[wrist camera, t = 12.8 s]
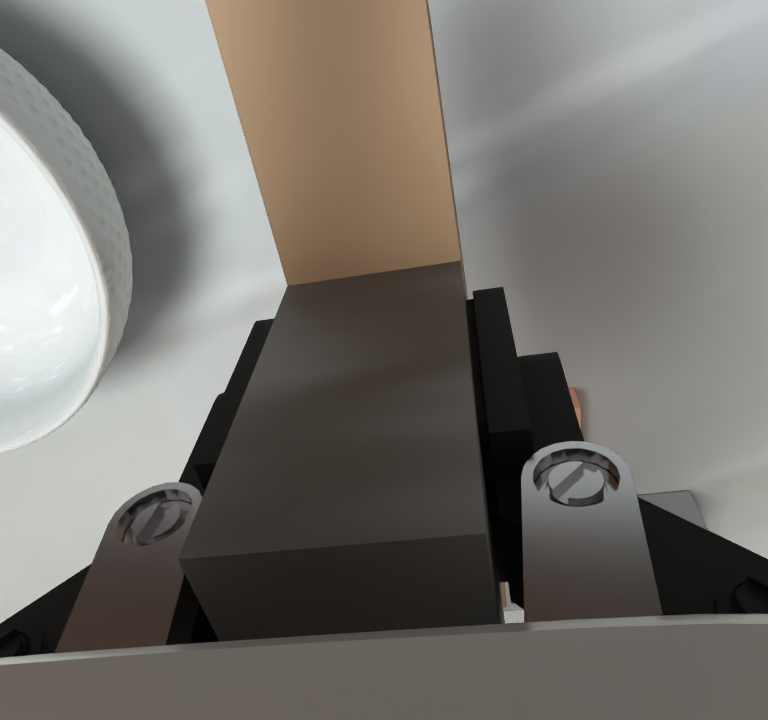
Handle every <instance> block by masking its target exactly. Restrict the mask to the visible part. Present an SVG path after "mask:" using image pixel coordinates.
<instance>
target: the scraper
mask: <svg viewBox="0 0 768 720" xmlns="http://www.w3.org/2000/svg"><path fill="white" fill-rule="evenodd" d="M205 2H206V5H207V9H208V12H209V15H210V19H211V22H212V26H213V29H214V33H215V36H216V40H217V43H218V47H219V50H220V53H221V57H222V60H223V64H224V67H225V71H226V74H227V78H228V81H229V85H230V88H231V91H232V95H233V98H234V102H235V105H236V109H237V112H238V116H239V119H240V123H241V126H242V129H243V133H244V136H245V140H246V143H247V147H248V150H249V154H250V157H251V161H252V164H253V167H254V171H255V174H256V178H257V181H258V185H259V188H260V192H261V195H262V199H263V202H264V205H265V209H266V212H267V216H268V219H269V223H270V226H271V230H272V233H273V237H274V240H275V243H276V247H277V250H278V254H279V257H280V261H281V264H282V268H283V271H284V275H285V278H286V282H287V285H288V286H287V289H286V291H285V294H284V296H283V299H282V301H281V304H280V306H279V309H278V311H277V314H276V316H275V319H274V321H273V324H272V326H271V329H270V331H269V334H268V336H267V339H266V341H265V344H264V346H263V349H262V351H261V354H260V356H259V358H258V361H257V363H256V366H255V368H254V371H253V373H252V376H251V378H250V381H249V383H248V386H247V388H246V391H245V393H244V396H243V398H242V401H241V403H240V406H239V408H238V411H237V413H236V416H235V418H234V421H233V423H232V426H231V428H230V431H229V433H228V436H227V438H226V441H225V443H224V446H223V448H222V451H221V453H220V455H219V458H218V460H217V463H216V465H215V468H214V470H213V473H212V475H211V478H210V480H209V483H208V485H207V488H206V490H205V493H204V495H203V498H202V500H201V503H200V505H199V508H198V510H197V513H196V515H195V518H194V520H193V523H192V525H191V528H190V530H189V533H188V535H187V538H186V540H185V543H184V545H183V548H182V550H181V552H180V555H179V557H178V561H179V563H180V565H181V567H182V569H183V571H184V573H185V575H186V577H187V579H188V581H189V583H190V585H191V587H192V589H193V591H194V593H195V595H196V596H197V598H198V600H199V602H200V604H201V606H202V608H203V610H204V612H205V614H206V616H207V618H208V620H209V622H210V624H211V626H212V628H213V630H214V632H215V634H216V636H217V638H218V640H219V642H222V641H237V640H252V639H267V638H282V637H298V636H313V635H329V634H344V633H360V632H376V631H391V630H407V629H424V628H441V627H458V626H475V625H491V624H505V621H504V611H503V607H508V606H507V597H506V588H505V582H502V583H500V582H499V576H498V569H497V562H496V555H495V548H494V541H493V534H492V527H491V519H490V512H489V505H488V498H487V491H486V484H485V477H484V470H483V463H482V456H481V449H480V441H479V432H478V423H477V413H476V403H475V392H474V381H473V371H472V360H471V350H470V339H469V329H468V318H467V308H466V300H468V297H467V289H466V282H465V274H464V267H463V259H462V252H461V244H460V237H459V229H458V222H457V214H456V207H455V199H454V192H453V184H452V177H451V169H450V162H449V154H448V147H447V140H446V132H445V125H444V117H443V110H442V102H441V95H440V87H439V80H438V72H437V65H436V57H435V50H434V42H433V35H432V27H431V20H430V12H429V5H428V0H205Z"/></svg>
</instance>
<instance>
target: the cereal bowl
mask: <svg viewBox="0 0 768 720" xmlns="http://www.w3.org/2000/svg"><path fill="white" fill-rule="evenodd" d="M132 279H133V275H132V254H131V249H130V242H129V233H128V230H127V227H126V225H125V220H124V215H123V212H122V209H121V205H120V203H119V202H118V200H117V196H116V191H115V189H114V188H113V186H112V183H111V181H110V180H109V177H108V175H107V173H106V171H105V168H104V165H103V164H102V163H101V162H100V161H99V158H98V156H97V153H96V152H95V151H94V149H93V147H92V145H91V142H90V141H89V140H88V139H87V138H86V137H85V136H84V135H83V133H82V131H81V129H80V127H79V126H78V125H77V124H76V123H75V122H74V121H73V119H72V117H71V116H70V114H69V113H68V112H67V111H65V110H64V109H63V108H62V106H61V105H60V103H59V102H58V100H57V99H56V98H54V97H53V96H52V95H51V94H50V93H49V91H48V90H47V88H46V87H44V86H43V85H42V84H41V83H39V82H38V80H37V79H36V78H35V77H34V76H33V75H32V74H30V73H29V72H28V71H27V70H26V69H25V68H24V67H23V66H22V65H21V64H20V63H19V62H17V61H16V60H14V59H13V58H12V57H11V56H10V55H8V54H7V53H6V52H5V51H4V50H2V49H0V453H2V452H7V451H10V450H13V449H17V448H20V447H23V446H26V445H28V444H31V443H33V442H35V441H37V440H39V439H41V438H43V437H45V436H47V435H49V434H50V433H52V432H54V431H55V430H56V429H58V428H59V427H61V426H62V425H64V424H65V423H66V422H67V421H68V420H69V419H70V418H71V417H73V416H74V415H75V413H76V412H77V411H78V410H79V409H80V408H81V407H82V406H83V405H84V404H85V403H86V402H87V400H88V399H89V397H90V396H91V394H92V393H93V392H94V390H95V389H96V388H97V386H98V384H99V382H100V380H101V378H102V377H103V375H104V374H105V372H106V370H107V368H108V365H109V363H110V361H111V360H112V358H113V357H114V356H115V354H116V350H117V346H118V344H119V343H120V341H121V339H122V337H123V330H124V327H125V324H126V322H127V320H128V309H129V306H130V302H131V292H132V286H133V283H132Z"/></svg>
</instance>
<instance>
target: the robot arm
mask: <svg viewBox="0 0 768 720" xmlns="http://www.w3.org/2000/svg"><path fill="white" fill-rule="evenodd" d="M473 298H474V299H470V300H466V308H467V318H468V329H469V339H470V350H471V360H472V371H473V381H474V392H475V403H476V413H477V423H478V432H479V441H480V449H481V456H482V463H483V470H484V477H485V484H486V491H487V498H488V505H489V512H490V519H491V527H492V534H493V541H494V548H495V555H496V562H497V569H498V576H499V582H500V583H502V582H508V585H509V593H510V600H511V604H513V603H515V604H516V605H518V606H519V607H521V608H522V609H524V623H508V624H491V625H475V626H458V627H441V628H424V629H407V630H391V631H376V632H360V633H344V634H329V635H313V636H298V637H282V638H267V639H252V640H237V641H222V642H219V640H218V638H217V636H216V634H215V632H214V630H213V628H212V626H211V624H210V622H209V620H208V618H207V616H206V614H205V612H204V610H203V608H202V606H201V604H200V602H199V600H198V598H197V596H196V595H195V593H194V591H193V589H192V587H191V585H190V583H189V581H188V579H187V577H186V575H185V573H184V571H183V569H182V567H181V565H180V563H179V561H178V557H179V555H180V552H181V550H182V548H183V545H184V543H185V540H186V538H187V535H188V533H189V530H190V528H191V525H192V523H193V520H194V518H195V515H196V513H197V510H198V508H199V505H200V503H201V500H202V498H203V495H204V493H205V490H206V488H207V485H208V483H209V480H210V478H211V475H212V473H213V470H214V468H215V465H216V463H217V460H218V458H219V455H220V453H221V451H222V448H223V446H224V443H225V441H226V438H227V436H228V433H229V431H230V428H231V426H232V423H233V421H234V418H235V416H236V413H237V411H238V408H239V406H240V403H241V401H242V398H243V396H244V393H245V391H246V388H247V386H248V383H249V381H250V378H251V376H252V373H253V371H254V368H255V366H256V363H257V361H258V358H259V356H260V354H261V351H262V349H263V346H264V344H265V341H266V339H267V336H268V334H269V331H270V329H271V326H272V324H273V321H274V319H268V320H261V321H256V322H255V324H254V326H253V328H252V330H251V333H250V335H249V337H248V340H247V342H246V344H245V346H244V349H243V351H242V353H241V356H240V358H239V360H238V363H237V365H236V367H235V369H234V372H233V374H232V376H231V379H230V381H229V383H228V385H227V388H226V390H225V392H224V393H222V394H219V395H218V397H217V398H216V400H215V402H214V404H213V406H212V408H211V411H210V413H209V415H208V417H207V420H206V422H205V424H204V426H203V428H202V431H201V433H200V435H199V437H198V440H197V442H196V444H195V446H194V449H193V451H192V453H191V455H190V457H189V460H188V462H187V464H186V466H185V469H184V471H183V473H182V475H181V478H180V480H179V482H173V483H164V484H160V485H157V486H153V487H151V488H148V489H146V490H144V491H142V492H140V493H138V494H137V495H135V496H134V497H132V498H131V499H129V500H128V501H127V502H125V503H124V504H123V505H122V506H121V507H120V508H119V509H118V510H117V511H116V512H115V514H114V515H113V517H112V519H111V520H110V522H109V524H108V526H107V528H106V531H105V533H104V535H103V538H102V540H101V543H100V545H99V547H98V550H97V552H96V554H95V557H94V559H93V562H92V564H90V565H89V566H87V567H86V568H84V569H83V570H81V571H80V572H78V573H77V574H75V575H74V576H72V577H71V578H69V579H68V580H66V581H65V582H63V583H61V584H60V585H58V586H57V587H55V588H54V589H52V590H51V591H49V592H48V593H46V594H45V595H43V596H42V597H40V598H39V599H37V600H36V601H34V602H33V603H31V604H30V605H28V606H26V607H25V608H23V609H22V610H20V611H19V612H17V613H16V614H14V615H13V616H11V617H10V618H8V619H7V620H5V621H4V622H2V623H1V624H0V720H768V559H766V558H764V557H762V556H760V555H758V554H756V553H754V552H752V551H750V550H748V549H746V548H743V547H741V546H739V545H737V544H735V543H733V542H731V541H729V540H727V539H725V538H723V537H721V536H719V535H716V534H714V533H712V532H710V531H708V530H706V529H704V528H702V527H700V526H698V525H696V524H694V523H691V522H689V521H687V520H685V519H683V518H681V517H679V516H677V515H675V514H673V513H671V512H669V511H667V510H664V509H662V508H660V507H658V506H656V505H654V504H652V503H650V502H648V501H646V500H644V499H642V498H640V497H637V494H636V489H635V485H634V480H633V476H632V473H631V471H630V469H629V466H628V464H627V463H626V462H625V461H624V460H623V459H622V458H621V457H620V456H619V455H618V454H617V453H615V452H614V451H612V450H610V449H608V448H606V447H604V446H601V445H597V444H594V443H590V442H584V439H583V436H582V432H581V429H580V426H579V422H578V419H577V416H576V412H575V409H574V405H573V402H572V399H571V395H570V392H569V389H568V385H567V382H566V378H565V375H564V372H563V368H562V365H561V362H560V358H559V356H558V353H557V352H553V353H544V354H536V355H528V356H520V357H517V354H516V349H515V344H514V339H513V334H512V329H511V324H510V319H509V314H508V309H507V304H506V299H505V294H504V289H503V287H499V288H492V289H484V290H477V291H473Z"/></svg>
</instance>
